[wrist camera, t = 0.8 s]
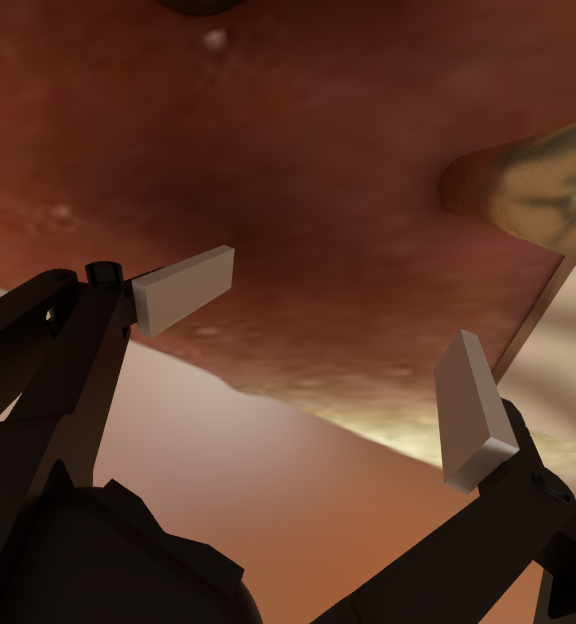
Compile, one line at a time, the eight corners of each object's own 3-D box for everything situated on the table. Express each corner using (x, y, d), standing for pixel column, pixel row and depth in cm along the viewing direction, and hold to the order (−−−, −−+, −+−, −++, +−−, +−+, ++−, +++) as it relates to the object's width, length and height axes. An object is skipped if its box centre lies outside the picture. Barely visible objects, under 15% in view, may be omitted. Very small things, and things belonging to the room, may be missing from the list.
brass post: (452, 149, 19) (581, 94, 7) (514, 156, 18) (781, 108, 6) (431, 208, 21) (504, 245, 9) (487, 217, 20) (651, 271, 8)
